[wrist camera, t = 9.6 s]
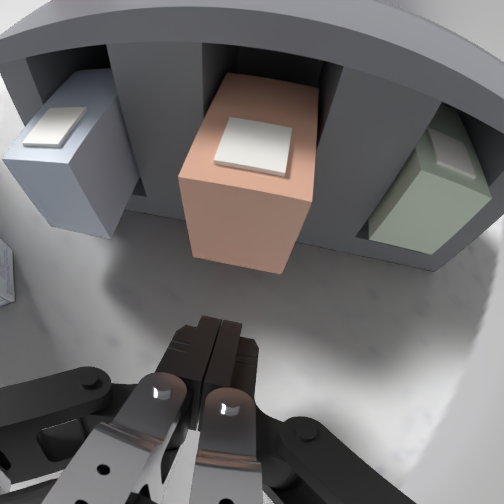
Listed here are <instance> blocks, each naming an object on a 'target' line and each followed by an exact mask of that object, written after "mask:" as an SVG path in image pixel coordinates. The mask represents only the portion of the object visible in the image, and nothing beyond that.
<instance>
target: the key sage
mask: <svg viewBox="0 0 504 504" xmlns="http://www.w3.org/2000/svg"><path fill="white" fill-rule="evenodd" d="M491 199H492V197H491V194H490V191H489V188H488V185H487V182H486V179H485V176H484V173H483V170H482V168H481V165H480V163H479V160H478V157H477V155H476V152H475V150H474V148H473V145H472V143H471V140H470V138H469V136H468V134H467V131H466V129H465V127H464V125H463V123H462V121H461V119H460V117H459V115H458V112H457V111H456V110H454V109H452V108H450V107H448V106H445V105H443V104H440V106H439V108H438V110H437V111H436V113H435V115H434V117H433V118H432V120H431V122H430V123H429V125H428V127H427V128H426V130H425V132H424V133H423V135H422V137H421V138H420V140H419V142H418V143H417V145H416V146H415V148H414V150H413V151H412V153H411V154H410V156H409V158H408V159H407V161H406V162H405V164H404V165H403V167H402V169H401V170H400V172H399V173H398V175H397V176H396V178H395V179H394V181H393V182H392V184H391V185H390V187H389V188H388V190H387V191H386V193H385V194H384V196H383V197H382V199H381V200H380V202H379V203H378V205H377V206H376V208H375V209H374V211H373V212H372V213H371V215H370V216H369V218H368V224H369V240H373V241H377V242H381V243H386V244H390V245H394V246H398V247H402V248H406V249H411V250H415V251H419V252H423V253H427V254H431V255H432V254H433V253H434V252H435V251H436V250H438V249H439V248H440V247H441V246H442V245H443V244H444V243H446V242H447V241H448V240H449V239H450V238H451V237H452V236H453V235H454V234H456V233H457V232H458V231H459V230H460V229H461V228H462V227H463V226H464V225H465V224H466V223H467V222H468V221H469V220H471V219H472V218H473V217H474V216H475V215H476V214H477V213H478V212H479V211H480V210H481V209H482V208H483V207H484V206H485V205H486V204H487V203H488V202H489V201H490V200H491Z"/></svg>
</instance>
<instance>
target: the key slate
mask: <svg viewBox="0 0 504 504" xmlns="http://www.w3.org/2000/svg"><path fill="white" fill-rule="evenodd" d="M2 160H3V161H4V163H5V165H6V166H7V167H8V169H9V170H10V172H11V173H12V175H13V176H14V178H15V179H16V181H17V182H18V183H19V185H20V186H21V188H22V189H23V190H24V192H25V193H26V194H27V196H28V197H29V199H30V200H31V201H32V203H33V204H34V205H35V206H36V208H37V209H38V210H39V212H40V213H41V214H42V216H43V217H44V218H45V219H46V221H47V222H48V223H49V224H50V226H52V227H56V228H61V229H65V230H70V231H74V232H79V233H83V234H88V235H92V236H97V237H101V238H106V239H110V240H111V239H112V237H113V235H114V232H115V230H116V227H117V225H118V223H119V221H120V218H121V216H122V214H123V211H124V209H125V207H126V205H127V203H128V200H129V198H130V196H131V194H132V192H133V190H134V188H135V186H136V183H137V181H138V179H139V177H140V174H139V170H138V167H137V164H136V160H135V157H134V154H133V150H132V147H131V143H130V140H129V136H128V133H127V129H126V125H125V122H124V118H123V114H122V110H121V106H120V102H119V98H118V94H117V90H116V86H115V82H114V77H113V73H112V69H111V68H106V69H90V70H78V71H75V72H74V73H73V74H72V75H71V76H70V77H69V78H68V79H67V80H66V81H65V82H64V83H63V84H62V85H61V86H60V87H59V88H58V89H57V90H56V92H55V93H54V94H53V95H52V96H51V97H50V98H49V99H48V100H47V101H46V103H45V104H44V105H43V106H42V107H41V108H40V110H39V111H38V112H37V113H36V114H35V115H34V117H33V118H32V119H31V120H30V122H29V123H28V124H27V125H26V127H25V128H24V129H23V130H22V132H21V133H20V134H19V136H18V137H17V138H16V140H15V141H14V142H13V144H12V145H11V146H10V148H9V149H8V151H7V152H6V153H5V155H4V156H3V158H2Z"/></svg>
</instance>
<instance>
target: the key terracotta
mask: <svg viewBox="0 0 504 504" xmlns="http://www.w3.org/2000/svg"><path fill="white" fill-rule="evenodd" d="M318 96H319V88H315V87H310V86H306V85H301V84H296V83H291V82H286V81H281V80H275V79H270V78H264V77H257V76H251V75H244V74H236V73H228V72H227V74H226V76H225V78H224V80H223V82H222V84H221V86H220V88H219V90H218V92H217V93H216V95H215V97H214V99H213V101H212V103H211V106H210V108H209V110H208V112H207V114H206V116H205V118H204V120H203V122H202V124H201V126H200V128H199V131H198V133H197V135H196V137H195V139H194V141H193V144H192V146H191V148H190V150H189V153H188V155H187V157H186V159H185V162H184V164H183V166H182V169H181V171H180V173H179V176H178V180H179V186H180V191H181V197H182V202H183V208H184V213H185V219H186V224H187V229H188V234H189V239H190V244H191V249H192V254H193V257H196V258H201V259H206V260H210V261H215V262H220V263H225V264H230V265H235V266H240V267H245V268H250V269H256V270H261V271H266V272H271V273H276V274H281V275H282V272H283V270H284V268H285V266H286V263H287V261H288V259H289V256H290V254H291V251H292V249H293V247H294V244H295V242H296V240H297V237H298V235H299V232H300V230H301V228H302V225H303V223H304V220H305V218H306V216H307V213H308V211H309V208H310V206H311V203H312V197H313V185H314V171H315V156H316V140H317V120H318Z"/></svg>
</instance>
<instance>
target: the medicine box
mask: <svg viewBox="0 0 504 504" xmlns="http://www.w3.org/2000/svg"><path fill="white" fill-rule="evenodd" d="M14 301H15V294H14V280H13V251H12V249H11V248H10V247H9V246H8V245H7V244H5V243H4V242H3V241H2V240H1V239H0V307H1V306H3V305H5V304H8V303H10V302H14Z"/></svg>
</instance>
